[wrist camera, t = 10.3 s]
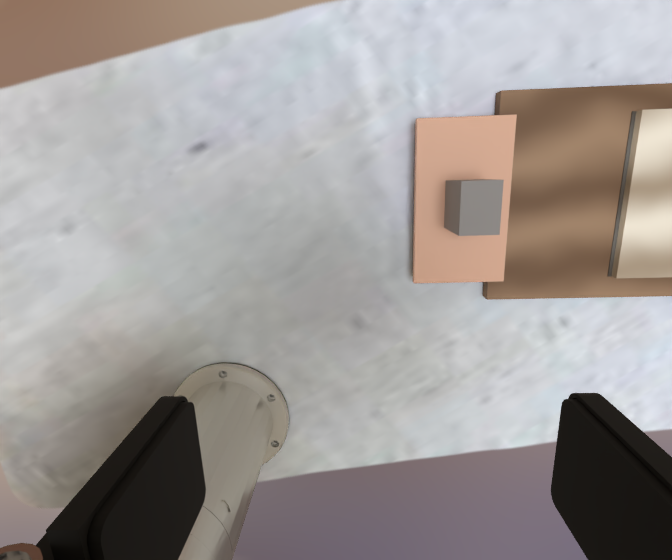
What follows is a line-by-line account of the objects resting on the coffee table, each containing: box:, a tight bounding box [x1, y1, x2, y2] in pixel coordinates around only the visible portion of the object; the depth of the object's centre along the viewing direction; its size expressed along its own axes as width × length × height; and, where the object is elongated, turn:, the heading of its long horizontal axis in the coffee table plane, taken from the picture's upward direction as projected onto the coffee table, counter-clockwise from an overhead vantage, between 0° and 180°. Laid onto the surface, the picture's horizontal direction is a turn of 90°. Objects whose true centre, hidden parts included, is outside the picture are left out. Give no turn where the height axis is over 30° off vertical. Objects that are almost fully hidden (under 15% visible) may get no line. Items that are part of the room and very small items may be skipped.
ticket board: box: [483, 83, 672, 299], centre depth 34 cm, size 18×24×2 cm
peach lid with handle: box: [413, 115, 517, 283], centre depth 32 cm, size 14×8×6 cm, turn 2°
